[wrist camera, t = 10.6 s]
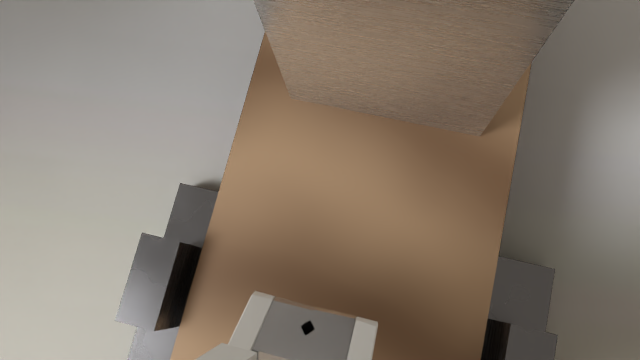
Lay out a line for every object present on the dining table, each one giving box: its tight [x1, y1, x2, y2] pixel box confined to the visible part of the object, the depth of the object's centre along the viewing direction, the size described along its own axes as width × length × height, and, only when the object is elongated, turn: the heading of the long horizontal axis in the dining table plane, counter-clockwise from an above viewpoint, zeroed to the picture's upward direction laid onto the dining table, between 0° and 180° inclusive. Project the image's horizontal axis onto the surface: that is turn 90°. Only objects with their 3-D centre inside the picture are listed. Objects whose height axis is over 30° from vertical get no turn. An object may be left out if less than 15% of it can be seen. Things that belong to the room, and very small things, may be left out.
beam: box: [170, 32, 532, 360], centre depth 16 cm, size 34×10×4 cm, turn 166°
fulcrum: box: [115, 183, 558, 360], centre depth 19 cm, size 8×16×6 cm, turn 76°
